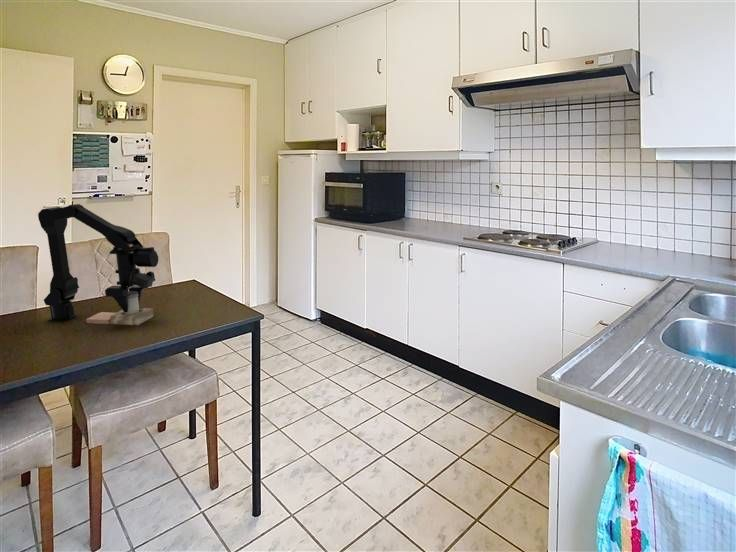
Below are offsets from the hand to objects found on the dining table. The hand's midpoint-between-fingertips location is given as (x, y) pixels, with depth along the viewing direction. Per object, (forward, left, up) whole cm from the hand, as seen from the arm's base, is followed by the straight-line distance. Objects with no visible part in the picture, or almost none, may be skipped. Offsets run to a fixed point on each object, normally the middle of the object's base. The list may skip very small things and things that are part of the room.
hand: (131, 309), depth 172 cm
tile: (-10, -1, -4) cm, 11 cm away
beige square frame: (0, 0, -4) cm, 4 cm away
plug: (0, 0, -4) cm, 4 cm away
